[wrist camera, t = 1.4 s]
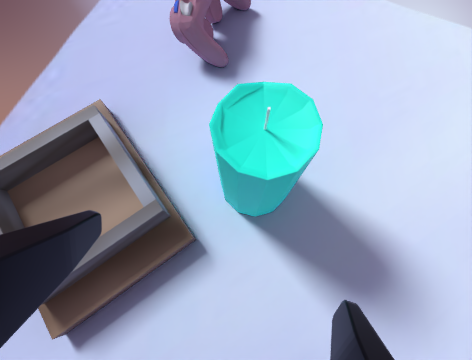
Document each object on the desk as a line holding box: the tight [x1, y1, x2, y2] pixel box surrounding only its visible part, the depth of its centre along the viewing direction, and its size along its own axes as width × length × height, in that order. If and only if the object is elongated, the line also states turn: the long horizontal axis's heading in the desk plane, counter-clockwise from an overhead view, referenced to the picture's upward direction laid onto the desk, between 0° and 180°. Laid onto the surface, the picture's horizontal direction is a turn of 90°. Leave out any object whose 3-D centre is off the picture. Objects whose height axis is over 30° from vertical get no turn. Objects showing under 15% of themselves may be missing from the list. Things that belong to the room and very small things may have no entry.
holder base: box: [0, 100, 196, 339], centre depth 21 cm, size 16×12×4 cm
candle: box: [209, 82, 323, 217], centre depth 18 cm, size 6×6×12 cm
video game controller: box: [170, 0, 251, 67], centre depth 27 cm, size 10×5×7 cm, turn 163°
